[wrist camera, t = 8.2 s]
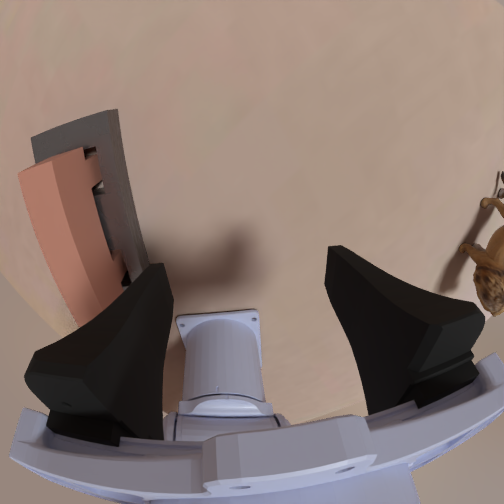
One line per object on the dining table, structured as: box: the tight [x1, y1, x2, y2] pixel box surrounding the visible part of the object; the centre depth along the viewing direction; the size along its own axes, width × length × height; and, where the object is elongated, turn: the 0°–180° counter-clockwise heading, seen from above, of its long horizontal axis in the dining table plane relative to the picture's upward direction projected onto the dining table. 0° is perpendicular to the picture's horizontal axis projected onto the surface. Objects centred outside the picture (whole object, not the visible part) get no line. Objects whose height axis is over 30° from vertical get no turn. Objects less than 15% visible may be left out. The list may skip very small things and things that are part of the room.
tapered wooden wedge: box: [18, 147, 127, 327], centre depth 17 cm, size 12×3×6 cm, turn 3°
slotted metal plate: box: [31, 109, 150, 291], centre depth 19 cm, size 16×7×2 cm, turn 3°
